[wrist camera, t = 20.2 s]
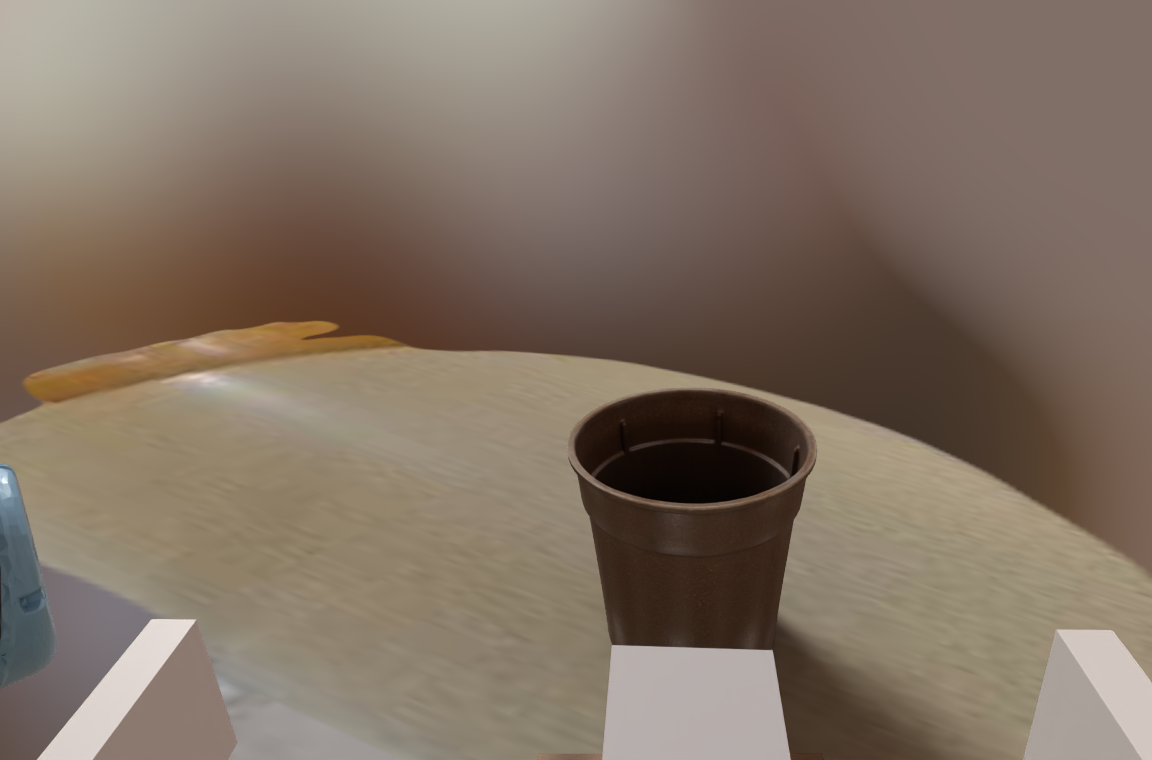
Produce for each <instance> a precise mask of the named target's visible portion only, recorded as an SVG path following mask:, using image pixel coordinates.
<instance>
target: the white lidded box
mask: <svg viewBox="0 0 1152 760" xmlns="http://www.w3.org/2000/svg"><path fill="white" fill-rule="evenodd" d="M602 760H791V758H790V752H789V746H788V740H787V734H786V728H785V722H784V716H783V710H782V704H781V698H780V692H779V686H778V680H777V674H776V668H775V661H774V655H773V650H747V649H716V648H685V647H654V646H623V645H612V651H611V663H610V675H609V686H608V698H607V710H606V721H605V733H604V745H603V757H602Z"/></svg>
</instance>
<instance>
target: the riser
mask: <svg viewBox="0 0 1152 760" xmlns="http://www.w3.org/2000/svg"><path fill="white" fill-rule="evenodd" d="M602 757H603V754H538V758H537V760H602ZM790 758H791V760H823V756H822V754H790Z"/></svg>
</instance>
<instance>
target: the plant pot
mask: <svg viewBox="0 0 1152 760" xmlns="http://www.w3.org/2000/svg"><path fill="white" fill-rule="evenodd" d="M567 453H568V458H569V461H570V464H571V466H572V468H573V470H574V471H575V472H576V474H577V475H578V480H579V485H580V491H581V497H582V501H583V505H584V507H585V510H586V511H587V513H588V515H589V516H590V521H591V527H592V532H593V538H594V544H595V549H596V555H597V561H598V566H599V572H600V578H601V584H602V590H603V596H604V603H605V609H606V616H607V623H608V631H609V636H610V639H611V642H612V644H613V645H623V646H654V647H685V648H716V649H747V650H771V648H772V645H773V641H774V636H775V628H776V621H777V615H778V609H779V602H780V596H781V590H782V584H783V578H784V572H785V566H786V561H787V555H788V550H789V544H790V538H791V532H792V526H793V521H794V518H795V517H796V515H797V513H798V512H799V509H800V506H801V502H802V497H803V492H804V487H805V481H806V478H807V476H808V475H809V474H810V472H811V471H812V469H813V467H814V465H815V461H816V456H817V445H816V440H815V437H814V435H813V433H812V431H811V430H810V428H809V427H808V426H807V424H806V423H805V422H803V421H802V420H801V419H800V418H799V417H798V416H796V415H795V414H794V413H792V412H790V411H789V410H787V409H785V408H784V407H781V406H779V405H777V404H775V403H773V402H770V401H768V400H765V399H762V398H759V397H756V396H752V395H748V394H744V393H740V392H735V391H729V390H722V389H714V388H670V389H661V390H654V391H647V392H642V393H637V394H633V395H628V396H625V397H622V398H619V399H616V400H613V401H611V402H608V403H606V404H604V405H602V406H600V407H598V408H596V409H595V410H593V411H591V412H590V413H588V414H587V415H586V416H584V417H583V418H582V419H581V420H580V421H579V422H578V423H577V424H576V425H575V426H574V428H573V429H572V431H571V433H570V435H569V437H568V442H567Z"/></svg>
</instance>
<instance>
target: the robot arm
mask: <svg viewBox="0 0 1152 760" xmlns="http://www.w3.org/2000/svg"><path fill="white" fill-rule="evenodd" d="M56 649H57V637H56V632H55V627H54V622H53V618H52V613H51V609H50V605H49V601H48V596H47V593H46V588H45V584H44V580H43V576H42V572H41V568H40V564H39V560H38V556H37V552H36V548H35V544H34V540H33V536H32V532H31V528H30V524H29V520H28V517H27V513H26V509H25V506H24V502H23V498H22V494H21V490H20V486H19V483H18V480H17V476H16V474H15V471H14V470H13V469H12V468H11V467H10V466H8V465H6V464H1V463H0V689H1V688H4V687H6V686H8V685H11V684H13V683H15V682H18V681H20V680H23V679H25V678H27V677H30V676H32V675H34V674H36V673H38V672H39V671H41V670H42V669H44V668H45V667H46V666H47V665H48V664H49V663H50V661H51V660H52V659H53V657H54V655H55V652H56ZM236 744H237V739H236V736H235V733H234V730H233V727H232V724H231V721H230V718H229V715H228V712H227V709H226V706H225V703H224V701H223V698H222V695H221V692H220V689H219V686H218V683H217V680H216V677H215V674H214V671H213V668H212V665H211V662H210V659H209V656H208V653H207V650H206V647H205V644H204V641H203V638H202V635H201V632H200V629H199V626H198V623H197V620H167V619H152V620H151V621H150V622H149V623H148V625H147V626H146V627H145V628H144V629H143V631H142V632H141V633H140V634H139V636H138V637H137V638H136V639H135V640H134V642H133V643H132V644H131V645H130V647H129V648H128V649H127V650H126V651H125V653H124V654H123V655H122V656H121V658H120V659H119V660H118V661H117V663H116V664H115V665H114V666H113V667H112V669H111V670H110V671H109V672H108V674H107V675H106V676H105V677H104V678H103V680H102V681H101V682H100V683H99V684H98V686H97V687H96V688H95V689H94V691H93V692H92V693H91V694H90V696H89V697H88V698H87V699H86V700H85V702H84V703H83V704H82V705H81V707H80V708H79V709H78V710H77V711H76V713H75V714H74V715H73V716H72V718H71V719H70V720H69V721H68V722H67V724H66V725H65V726H64V727H63V729H62V730H61V731H60V732H59V733H58V735H57V736H56V737H55V739H54V740H53V741H52V742H51V743H50V745H49V746H48V747H47V748H46V749H45V751H44V752H43V753H42V754H41V755H40V757H39V758H38V759H37V760H228V758H229V756H230V754H231V753H232V751H233V749H234V747H235V745H236ZM1023 760H1152V682H1151V681H1150V680H1149V678H1148V677H1147V676H1146V674H1145V673H1144V672H1143V670H1142V669H1141V668H1140V666H1139V665H1138V664H1137V662H1136V661H1135V660H1134V658H1133V657H1132V656H1131V654H1130V653H1129V652H1128V650H1127V649H1126V648H1125V646H1124V645H1123V644H1122V642H1121V641H1120V640H1119V638H1118V637H1117V636H1116V634H1115V633H1114V632H1113V630H1056V632H1055V636H1054V640H1053V644H1052V648H1051V652H1050V656H1049V660H1048V664H1047V668H1046V672H1045V676H1044V680H1043V684H1042V688H1041V692H1040V696H1039V700H1038V704H1037V708H1036V712H1035V716H1034V720H1033V724H1032V727H1031V731H1030V735H1029V739H1028V743H1027V747H1026V751H1025V755H1024V759H1023Z"/></svg>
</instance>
